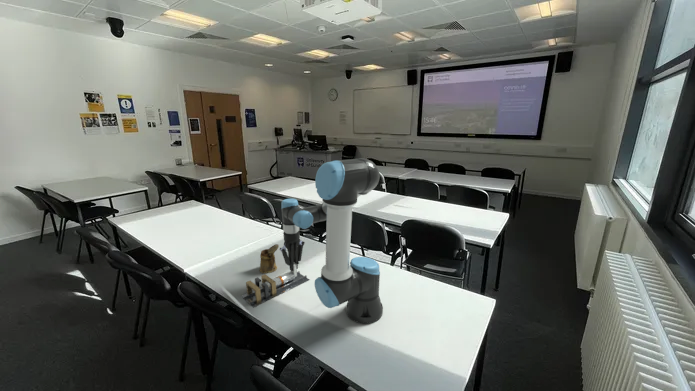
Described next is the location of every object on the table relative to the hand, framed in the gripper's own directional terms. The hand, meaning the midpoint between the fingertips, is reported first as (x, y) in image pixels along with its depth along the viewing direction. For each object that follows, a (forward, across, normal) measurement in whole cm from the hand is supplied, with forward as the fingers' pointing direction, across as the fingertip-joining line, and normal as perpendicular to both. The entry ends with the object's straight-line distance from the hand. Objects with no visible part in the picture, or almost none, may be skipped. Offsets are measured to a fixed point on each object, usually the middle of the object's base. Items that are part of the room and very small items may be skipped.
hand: (294, 275), depth 139 cm
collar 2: (+3, +14, 0) cm, 14 cm away
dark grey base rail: (+3, +10, 0) cm, 10 cm away
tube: (+2, +8, 0) cm, 8 cm away
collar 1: (+3, +22, 0) cm, 22 cm away
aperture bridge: (+3, +18, 0) cm, 18 cm away
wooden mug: (+3, +4, -16) cm, 17 cm away
